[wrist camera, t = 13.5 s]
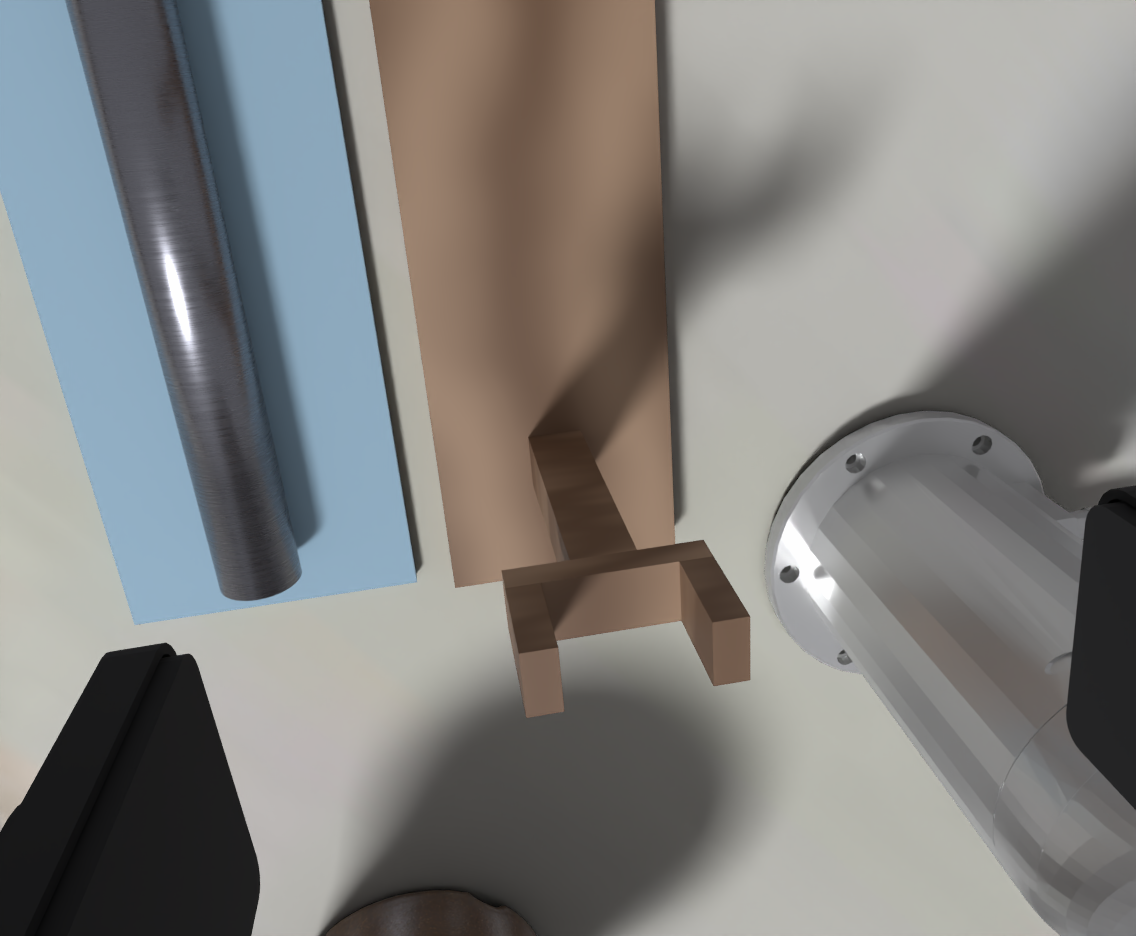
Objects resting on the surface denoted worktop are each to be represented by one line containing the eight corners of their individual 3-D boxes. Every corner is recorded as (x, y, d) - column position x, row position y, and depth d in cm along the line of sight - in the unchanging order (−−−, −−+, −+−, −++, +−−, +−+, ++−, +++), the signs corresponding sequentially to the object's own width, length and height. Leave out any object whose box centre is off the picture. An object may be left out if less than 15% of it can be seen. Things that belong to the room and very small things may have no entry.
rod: (4, -332, 27) (-54, -371, 24) (115, -341, 27) (70, -381, 24) (231, 562, 39) (210, 604, 36) (308, 555, 39) (293, 596, 36)
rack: (632, -272, 30) (836, -517, 16) (666, 537, 42) (801, 786, 28) (332, -256, 29) (283, -503, 15) (453, 569, 41) (485, 844, 27)
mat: (251, -430, 27) (248, -439, 27) (416, 574, 41) (416, 582, 40) (-179, -416, 26) (-191, -425, 25) (138, 616, 39) (134, 624, 39)
